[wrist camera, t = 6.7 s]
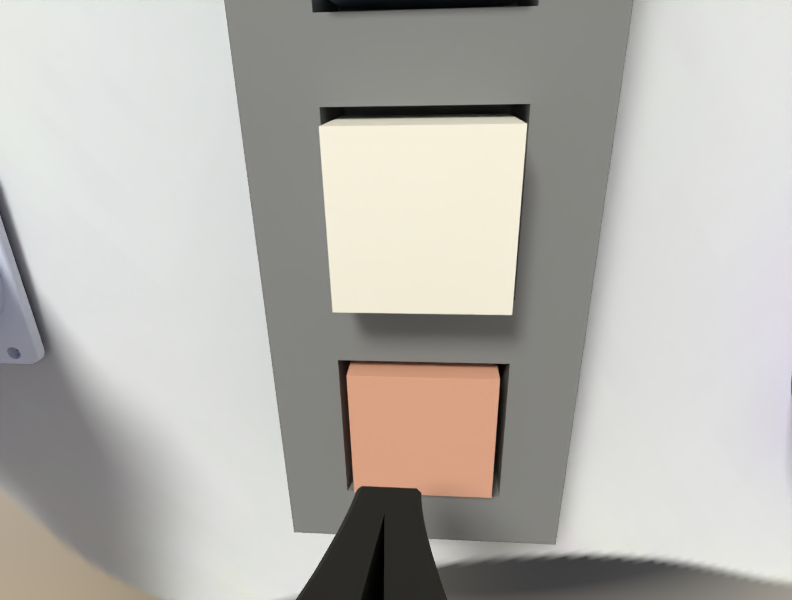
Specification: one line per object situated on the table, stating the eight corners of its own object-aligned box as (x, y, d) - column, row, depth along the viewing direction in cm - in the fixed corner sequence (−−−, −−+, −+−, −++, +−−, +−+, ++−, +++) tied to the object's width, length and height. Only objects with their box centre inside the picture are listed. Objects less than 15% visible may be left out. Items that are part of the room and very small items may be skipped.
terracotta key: (366, 433, 20) (354, 492, 17) (360, 329, 18) (346, 375, 15) (483, 437, 19) (491, 498, 16) (490, 331, 17) (500, 379, 15)
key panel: (317, 455, 22) (294, 532, 18) (244, -294, 13) (166, -442, 9) (535, 463, 21) (555, 544, 18) (623, -323, 12) (704, -495, 8)
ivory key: (350, 270, 16) (332, 312, 13) (342, 115, 14) (318, 126, 11) (499, 271, 15) (512, 314, 13) (509, 113, 14) (527, 123, 11)
